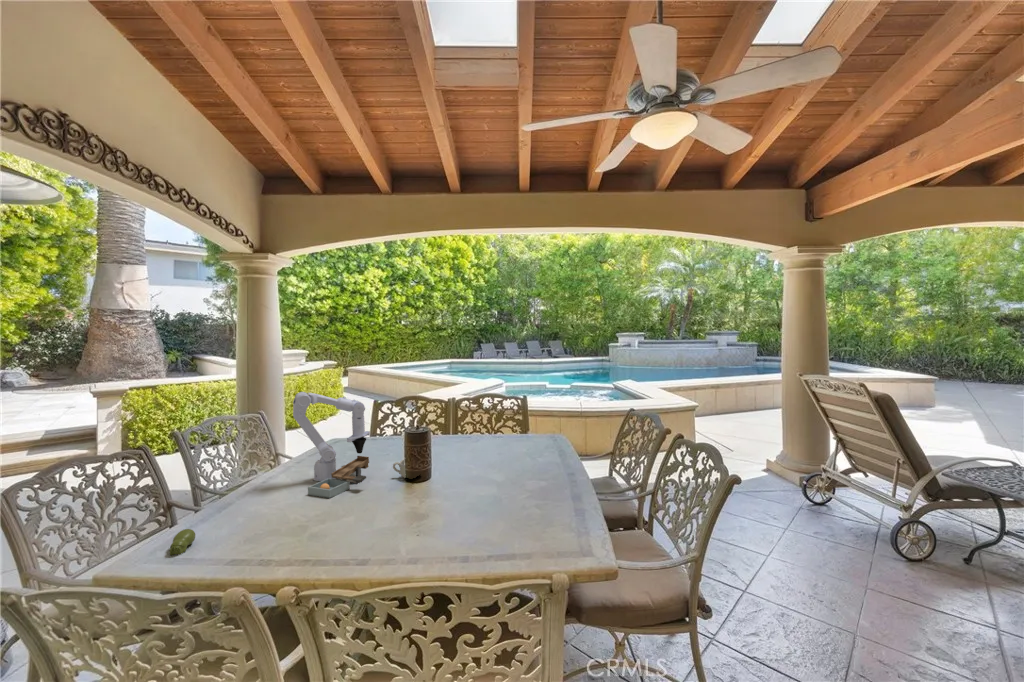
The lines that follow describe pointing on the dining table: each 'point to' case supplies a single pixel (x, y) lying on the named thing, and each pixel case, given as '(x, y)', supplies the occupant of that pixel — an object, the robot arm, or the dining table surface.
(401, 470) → the teacup
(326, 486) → the ball
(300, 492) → the dining table surface
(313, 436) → the robot arm
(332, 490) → the tray
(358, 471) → the stand
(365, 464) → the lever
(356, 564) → the dining table surface
